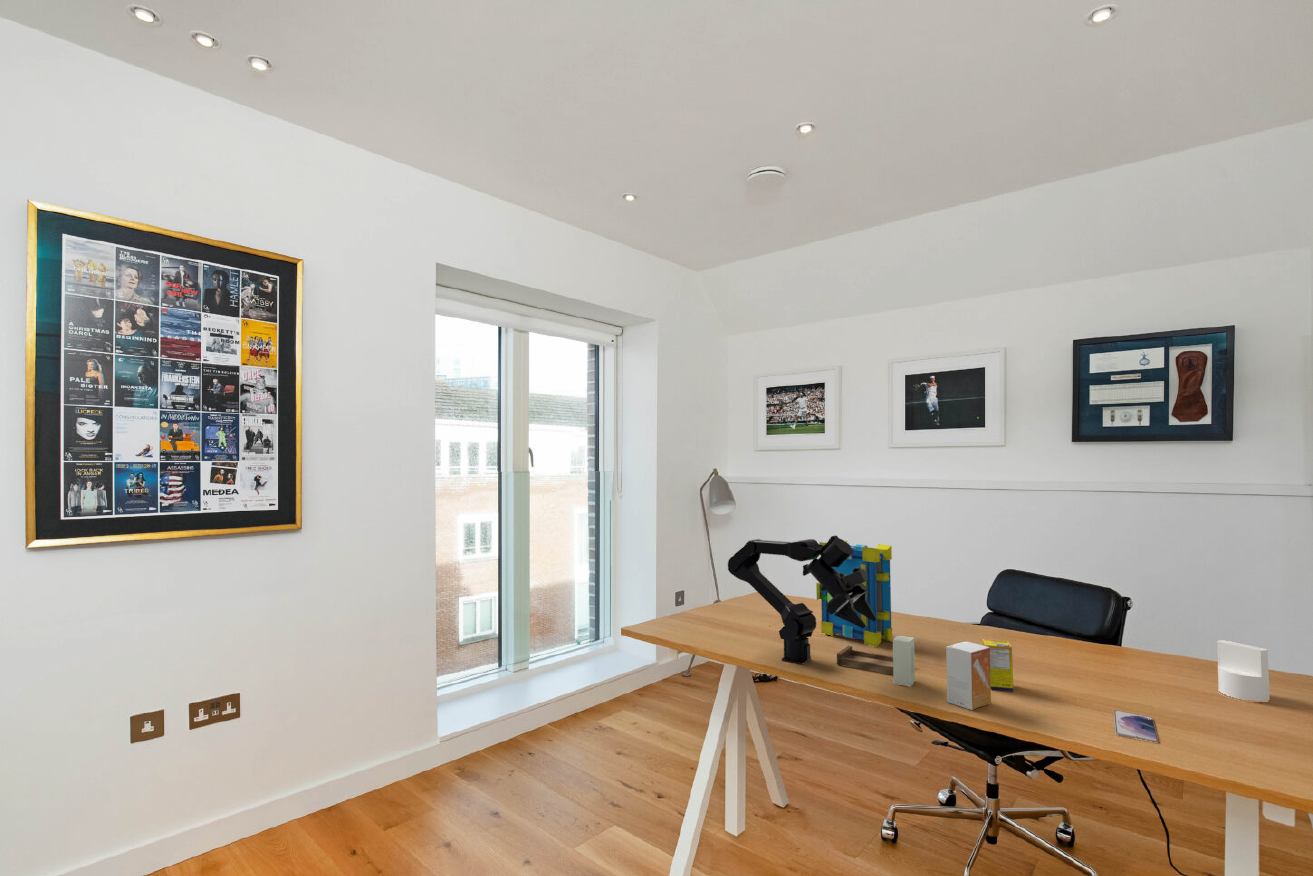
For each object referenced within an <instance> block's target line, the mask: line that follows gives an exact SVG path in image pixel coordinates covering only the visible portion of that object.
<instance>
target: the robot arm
mask: <svg viewBox="0 0 1313 876" xmlns="http://www.w3.org/2000/svg"><path fill="white" fill-rule="evenodd" d="M817 541H818V540H816V539H813V538H810V539H802V540H795V541H780V540H778V541H777V540H763V539H760V538H758V539H751V540H748V541H747V542H746V543H744V546H743V547H741V548H740V549H739V550H737V551H736V552H735V553H734V554H733V556H730V557H729V559H728V561H727V570H728V573H730V574H731V575H732V576H733V577H735V578H736V579H738V580H739V581H740V580H741V581H743V582H746V583H747V584H748V585H750V586H751V587H752V588H753V589H754V590H755V591H756V592H757V593H758V595H760V596H761V597H762V598H763V599H764V600H765V601H766V602H767V603H768V604H769V605H770V606H771V607H772V608H773V609H774V610H775V611H776V612H777V613H779V615H780V617H781V621H782V624H783V625H784V626H782V627H781V629H780V630H778V632H779V636H780V637H779V638H780V639H781V640H783V657H781V661H784V660H785V662H791V663H794V662H796V664H799V665H800V664H802V665H803V663H804V664H805V663H806V662H808V661H810V660H812V656H811V644H810V643H809V637H812V635H813V633H814V631H815V629H816V628H817V618H816V616H815V615H814V614H813V613H814V611H813V610H811V609H810V608H809V607H808V606H807V605H806V604H805V603H803V602H799V603H793V602H792V601H791V600H790V599H789V598H788V597H787V596H786V595H785V594H784V593H783V592H782V591H780V590H779V589H778V587H776V585H774V584H773V583H772V581H770V580H769V579H768V578H767V577H766V576H765V575H764V574H763V573H762V572H761V571H760V567H759V564H758V562H759V561H760V559H761V554H762V555H763V554H765V555H774V556H785V557H788V558H789V559H791V560H794V561H797V562H806V561H810V562H809V564H808V563H806V564H803V565H802V576H804V577H805V576H807V575H809V574H811V575H812V576H813V578H814V579H815V580H816V581H817V583H818V582H819V583H820V584H821V585H822V586H823V587H822V588H821V589H822V590H823V591H825V590H826V591H827V592H828V593H829V594H830V595H831V597H832V599H831V600H830V601H829V602H828V603H827V604H826V610H827V611H828V612H829V613H830V615H832V614H834V613H835V612H836V611H837V612H836V613H835V614H834V616H837V617H840V618H842V619H844V620H846V621H848V622H850V623H853V624H855V625H857V626H859V627H861V628H865V627H866V625H865V623H864V622H863V620H862V619H861V617H860V616H859V615H858V613H857V612H856V611H858V612H859V613H861V614H862V615H864V616H865V617H867V618H869V619H870V620H872V621H875V620H876V617H875V615H874V613H873V611H872V609H871V607H870V605H869V603H868V601H867V594H868V591H867V592H865V591H866V590H867V589H868V588H867V587H866V586H865V585H864V584H861V583H864V582H866V581H868V577H867V572H866V571H865V570H864V569H862V568H860V567H857V568H855V569H853V573H852V574H849V575H847V576H845V575H844V574H843V573H838V572H837V571H836V570H835V569H834V568H833V567H839V566H840V565H841V564H842V563H843V562H844V561H845V560H846V559H847V558H848V557H849V556H850V555H851V554H852V553H853V550H852V548H851V546H852V545H850V543H848V542H847V543H846V542H845V541H846V540H843V539H842V538H841V537H840V538H839V537H838V535H832V536H830V537H829V539H828V541H826V542H825V543H826V544H825V545H821V544H819V542H817ZM864 592H865V593H864ZM863 593H864V594H863Z"/></svg>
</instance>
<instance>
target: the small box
mask: <svg viewBox="0 0 1313 876" xmlns="http://www.w3.org/2000/svg"><path fill="white" fill-rule="evenodd" d="M945 649H946V651H945V652H946V654H945V655H946V699H947V701H946V702H947V703H949V704H952V705H955V706H958V707H962V708H964V709H967V710H971V711H973V710H975V709H977V708H981V707H984V706H986V704H987V705H990V704H992V693H991V692H992V691H991V690H992V689H991V676H990V647H987V646H983V645H982V644H979V643H974V642H970V641H962V642H957V643H954V644H951V645H947V646H946V648H945ZM989 703H990V704H989Z"/></svg>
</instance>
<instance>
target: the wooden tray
mask: <svg viewBox="0 0 1313 876" xmlns="http://www.w3.org/2000/svg"><path fill="white" fill-rule="evenodd" d="M837 664H839V665H838V666H841V665H844V666H843V667H847V666H849V667H848V668H852V667H854V668H853V669H857V670H858V669H859V670H865V671H870V672H874V671H876V673H880V672H881V673H880V674H885V673H886V674H885V675H891V674H892V675H891V676H893V655H885V654H879V653H874V652H867V651H861V650H856V649H853V646H851V645H847V646H846V647H844V648H843V649H841V650H840V651H838V652H837V653H836V665H837Z"/></svg>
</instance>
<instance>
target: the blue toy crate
mask: <svg viewBox="0 0 1313 876" xmlns="http://www.w3.org/2000/svg"><path fill="white" fill-rule="evenodd" d="M844 541H845V542H846V543H848V540H844ZM826 543H827V542H823V541H822V542H821V541H819V542H818V544H821V545H825V544H826ZM850 546H851V548H852V550H853V553H852V554H851V555H850V556H849V557H848V558H847V559H846V560H845V561H844V562H843V563H842V564H841V565H840V566H839V567H833V568H834V569H835V570H836V571H837V572H838V573H843V574H844V575H845V576H847V575H849V574H852V573H853V569H855V568H857V567H860V568H862V569H864V570H865V571H866V572H867V577H868V581H866V582H864V583H861V584H864V585H865V586H866V587H867V588H868V589H867V590H866V591H865V592H867V591H868V594H867V601H868V603H869V605H870V607H871V609H872V611H873V613H874V615H875V617H876V620H875V621H872V620H870V619H869V618H867V617H865V616H864V615H862V614H861V613H859V612H858V611H856V612H857V613H858V615H859V616H860V617H861V619H862V620H863V622H864V623H865V625H866V627H865V628H861V627H859V626H857V625H855V624H853V623H850V622H848V621H846V620H844V619H842V618H840V617H837V616H834V614H835V613H836V612H837V611H836V612H835V613H834V614H832V615H830V613H829V612H828V611H827V610H826V604H827V603H828V602H829V601H830V600H831V599H832V597H831V595H830V594H829V593H828V592H827V591H826V590H825V591H823V590H822V589H821V588H822V587H823V586H822V585H821V584H820V583H819V582H818V581H817V582H816V583H815V586H816V601H819V600H821V620H820V624H821V625H820V629H821V632H820V634H821V633H825V634H828V635H831V636H833V637H835V635H837V634H838V635H842V636H843V637H844V638H849V639H853V640H855V639H858V640H863V645H864V644H867V645H871V646H874V647H873V648H876V647H877V648H878V647H879V645H880V644H881V643H882V641H886V642H891V643H893V628H892V603H891V602H892V599H891V598H892V595H891V593H892V592H891V590H892V589H891V560H893V558H892V556H893V555H892V545H889V544H881V543H880V544H877V546H876V547H869V546H868V545H866V544H859V543H858V544H855V545H850ZM865 592H864V593H865ZM864 593H863V594H864ZM881 639H882V640H881ZM867 645H866V646H867ZM871 646H870V647H871Z"/></svg>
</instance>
